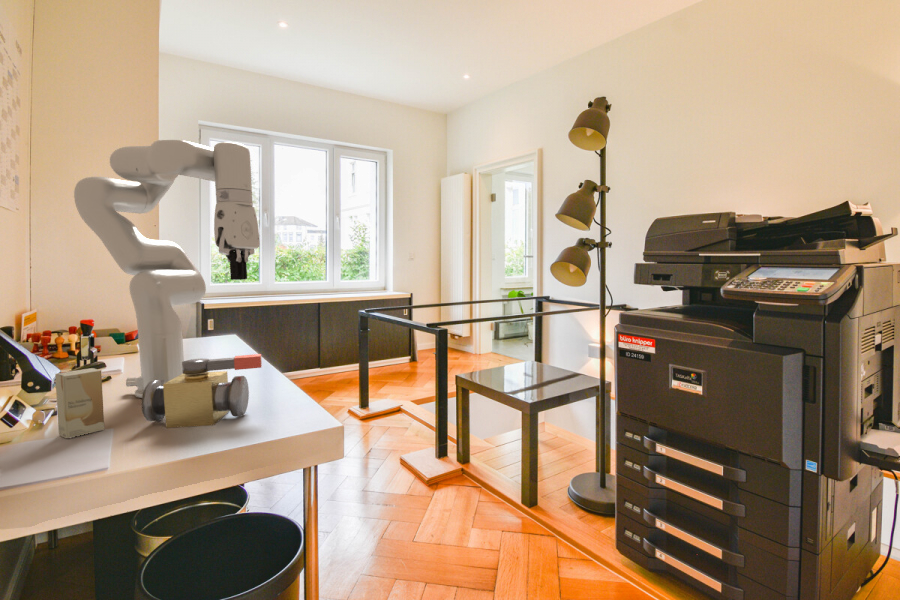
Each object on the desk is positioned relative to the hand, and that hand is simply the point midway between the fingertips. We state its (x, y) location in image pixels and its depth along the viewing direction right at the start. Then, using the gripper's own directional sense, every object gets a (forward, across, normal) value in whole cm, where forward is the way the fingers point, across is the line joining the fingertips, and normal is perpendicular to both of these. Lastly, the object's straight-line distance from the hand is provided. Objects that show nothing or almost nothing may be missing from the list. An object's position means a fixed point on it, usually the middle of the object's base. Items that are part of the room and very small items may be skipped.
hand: (239, 279), depth 104 cm
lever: (+19, -10, -2) cm, 21 cm away
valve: (+29, -12, +2) cm, 32 cm away
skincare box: (+29, -23, +19) cm, 42 cm away
